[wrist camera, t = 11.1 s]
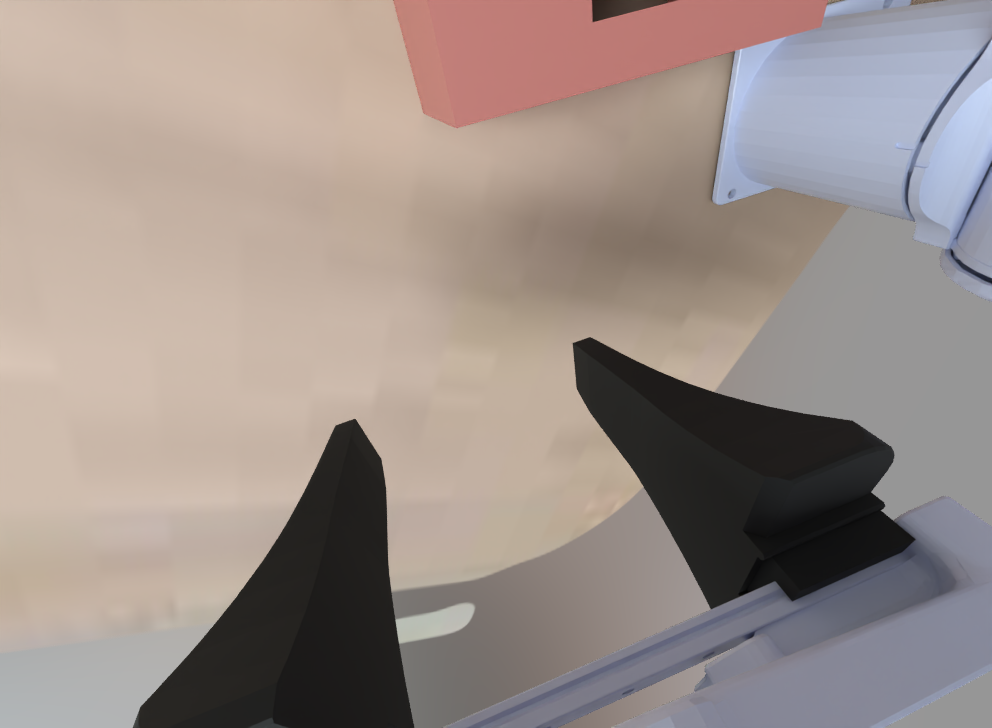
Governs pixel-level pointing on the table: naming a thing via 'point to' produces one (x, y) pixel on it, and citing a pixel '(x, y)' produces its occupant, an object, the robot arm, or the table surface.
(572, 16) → the money box
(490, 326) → the table surface
